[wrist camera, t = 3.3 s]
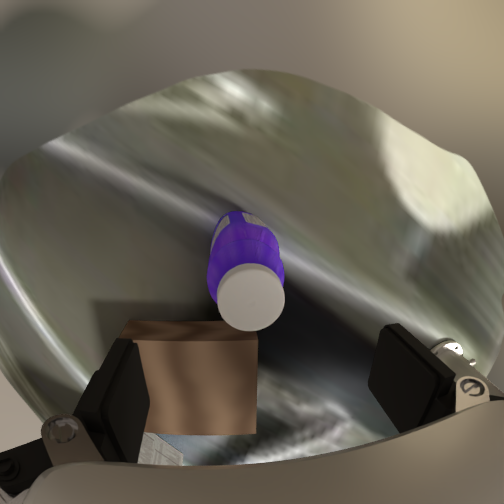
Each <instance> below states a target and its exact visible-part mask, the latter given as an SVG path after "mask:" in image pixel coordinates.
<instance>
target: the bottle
mask: <svg viewBox="0 0 504 504" xmlns="http://www.w3.org/2000/svg"><path fill="white" fill-rule="evenodd" d="M283 283H284V268H283V264H282V260H281V259H280V255H279V246H278V242H277V240H276V238H275V236H274V235H273V233H272V232H271V231H270V230H269V229H268V227H267V226H266V225H265V224H264V223H263V222H262V221H261V220H260V219H259V218H258V217H257V216H254V215H252V214H250V213H246V212H243V211H232V212H229V213H226V214H225V215H224V216H222V218H221V219H220V220H219V222H218V224H217V226H216V228H215V231H214V234H213V238H212V242H211V249H210V258H209V263H208V270H207V284H208V289H209V292H210V295H211V297H212V298H213V300H214V301H215V302H216V303H217V304H218V309H219V312H220V314H221V316H222V318H223V319H224V320H225V321H226V322H227V323H228V324H229V325H231V326H232V327H234V328H236V329H239V330H243V331H257V330H260V329H263V328H266V327H268V326H269V325H271V324H272V323H273V322H274V321H275V320H276V319H277V318H278V317H279V316H280V314H281V312H282V310H283V307H284V303H285V295H284V290H283Z"/></svg>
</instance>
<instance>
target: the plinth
mask: <svg viewBox="0 0 504 504" xmlns="http://www.w3.org/2000/svg"><path fill="white" fill-rule="evenodd" d="M119 338H128V339H132V340H133V343H137V344H138V347H139V352H140V357H141V362H142V367H143V371H144V376H145V380H146V385H147V389H148V393H149V397H150V407H149V412H148V416H147V420H146V425H145V429H144V432H146V433H158V434H175V435H240V434H256V409H257V368H258V337H257V333H256V331H243V330H239V329H236V328H234V327H232V326H231V325H229V324H228V323H227V322H226V321H136V320H129V321H128V323H127V324H126V326H125V328H124V329H123V331H122V333H121V335H120V336H119Z"/></svg>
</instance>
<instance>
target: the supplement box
mask: <svg viewBox="0 0 504 504" xmlns="http://www.w3.org/2000/svg"><path fill="white" fill-rule="evenodd" d="M138 463H139V464H154V465H173V466H182V463H183V454H182V453H181V452H179V451H178V450H176V449H175V448H173V447H172V446H171V445H169V444H168V443H167V442H165V441H164V440H162V439H161V438H160V437H158V436H157V435H156V434H154V433H146V432H144V434H143V439H142V443H141V448H140V453H139V458H138Z"/></svg>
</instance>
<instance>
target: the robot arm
mask: <svg viewBox="0 0 504 504" xmlns="http://www.w3.org/2000/svg"><path fill="white" fill-rule="evenodd" d="M475 363H476V361H475V359H471V360H467V359H466V358H464V357H463V350H462V347H461V346H460V344H458V343H457V342H456V341H452V340H449V341H445V342H442V343H440V344H438V345H437V346H435V347H434V348H432V349H431V350H429V349H428V348H427V347H426V346H424V345H423V344H422V343H421V342H420V341H419V340H418V339H416V338H415V337H414V336H413V335H412V334H411V333H410V332H408V331H407V330H406V329H405V328H404V327H403V326H401V325H400V324H399V323H395V324H389V325H385V326H384V328H383V329H382V330H381V331H380V334H379V339H378V343H377V348H376V352H375V356H374V360H373V364H372V368H371V372H370V376H369V380H368V387H369V389H370V391H371V392H372V394H373V395H374V397H375V398H376V399H377V401H378V402H379V404H380V405H381V407H382V408H383V410H384V411H385V412H386V414H387V415H388V417H389V418H390V420H391V421H392V423H393V424H394V426H395V427H396V428H397V430H398V431H399V433H400V434H397V435H394V436H391V437H388V438H385V439H381V440H378V441H375V442H371V443H367V444H364V445H360V446H356V447H352V448H348V449H344V450H339V451H335V452H330V453H325V454H320V455H315V456H309V457H303V458H297V459H290V460H283V461H275V462H266V463H256V464H243V465H224V466H173V465H154V464H139V463H138V458H139V453H140V448H141V443H142V439H143V434H144V429H145V425H146V420H147V416H148V412H149V407H150V397H149V393H148V389H147V385H146V380H145V376H144V371H143V367H142V362H141V357H140V352H139V347H138V344H137V343H133V340H132V339H128V338H116V340H115V342H114V343H113V345H112V347H111V349H110V351H109V352H108V354H107V356H106V358H105V360H104V362H103V364H102V365H101V367H100V369H99V370H97V371H95V373H94V374H93V376H92V378H91V380H90V381H89V383H88V385H87V387H86V389H85V391H84V393H83V395H82V397H81V399H80V401H79V403H78V405H77V407H76V409H75V411H74V413H73V415H69V414H59V415H55V416H52V417H50V418H49V419H47V420H46V421H45V422H44V424H43V425H42V428H41V436H42V438H40V439H37V440H34V441H32V442H29V443H27V444H24V445H21V446H18V447H15V448H13V449H10V450H7V451H4V452H1V453H0V504H504V393H503V392H502V391H501V390H500V389H498V388H497V387H496V386H495V385H494V384H493V383H491V382H490V381H489V380H488V379H487V378H486V377H484V376H483V375H482V374H481V373H480V372H479V371H477V370H476V369H475V367H473V365H475Z"/></svg>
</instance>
